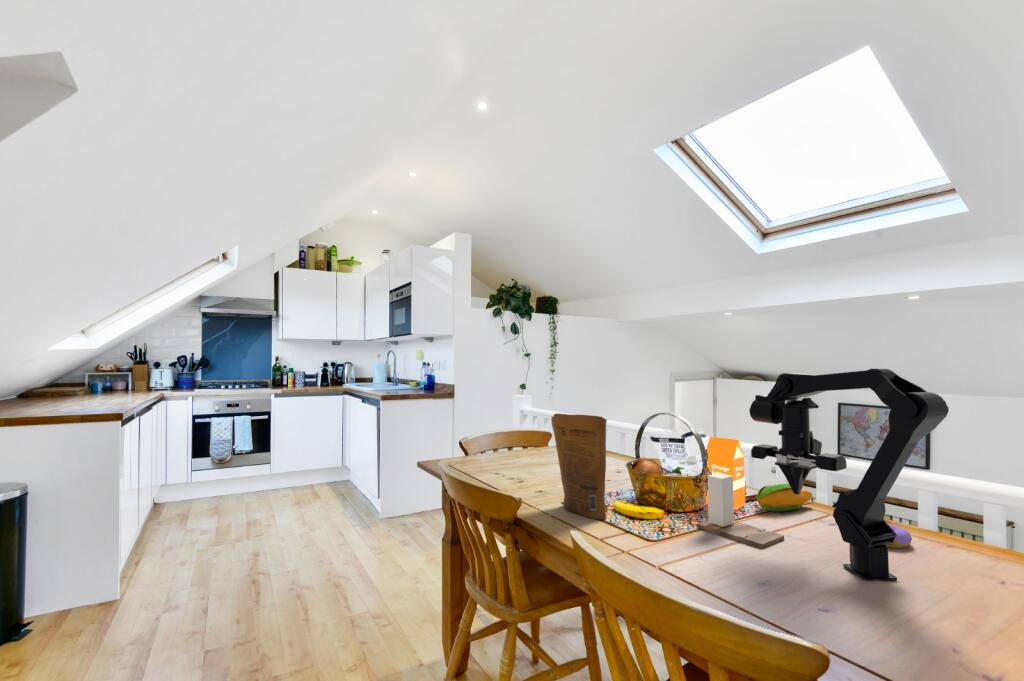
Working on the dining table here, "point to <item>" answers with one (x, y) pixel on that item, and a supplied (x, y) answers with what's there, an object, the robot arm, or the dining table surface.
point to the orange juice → (728, 465)
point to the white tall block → (720, 499)
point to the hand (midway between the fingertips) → (796, 494)
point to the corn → (781, 498)
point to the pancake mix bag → (582, 462)
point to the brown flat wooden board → (744, 533)
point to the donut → (900, 538)
